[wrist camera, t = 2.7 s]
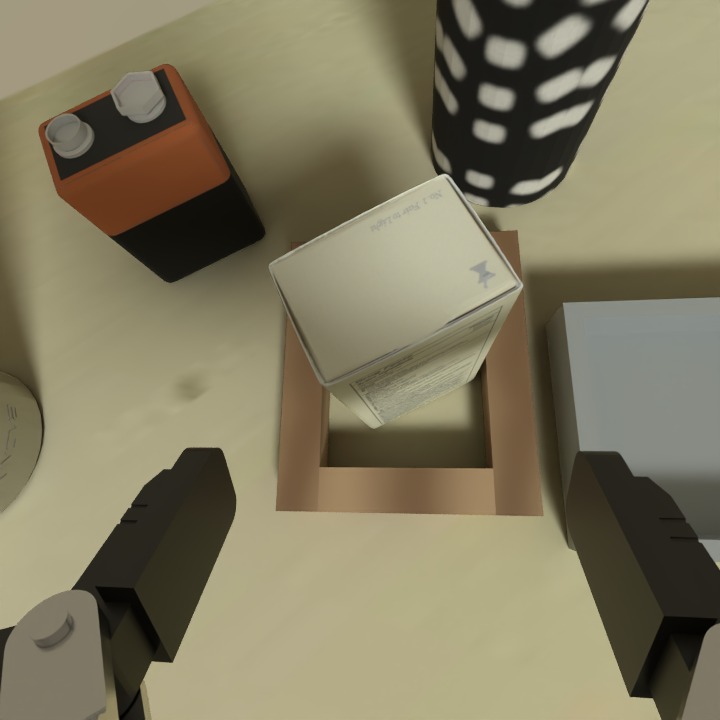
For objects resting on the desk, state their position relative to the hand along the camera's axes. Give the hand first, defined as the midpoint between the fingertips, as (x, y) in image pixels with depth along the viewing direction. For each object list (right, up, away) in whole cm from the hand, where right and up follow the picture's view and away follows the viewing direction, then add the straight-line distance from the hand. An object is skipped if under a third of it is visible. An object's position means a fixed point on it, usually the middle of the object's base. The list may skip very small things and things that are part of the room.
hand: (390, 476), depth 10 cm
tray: (+15, -1, +11) cm, 18 cm away
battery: (-10, +10, +18) cm, 23 cm away
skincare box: (+2, +2, +14) cm, 14 cm away
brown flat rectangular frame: (+2, +2, +14) cm, 14 cm away
